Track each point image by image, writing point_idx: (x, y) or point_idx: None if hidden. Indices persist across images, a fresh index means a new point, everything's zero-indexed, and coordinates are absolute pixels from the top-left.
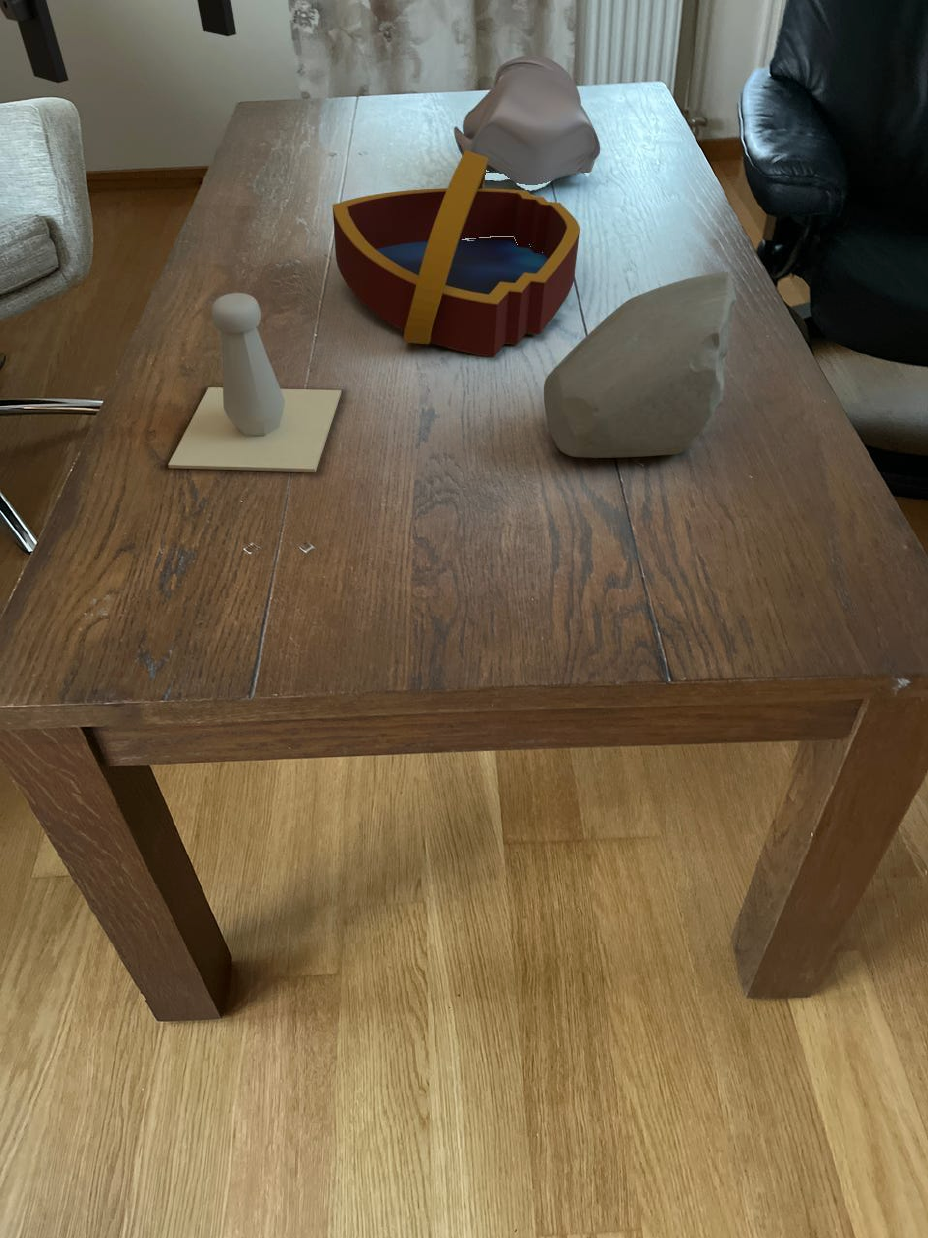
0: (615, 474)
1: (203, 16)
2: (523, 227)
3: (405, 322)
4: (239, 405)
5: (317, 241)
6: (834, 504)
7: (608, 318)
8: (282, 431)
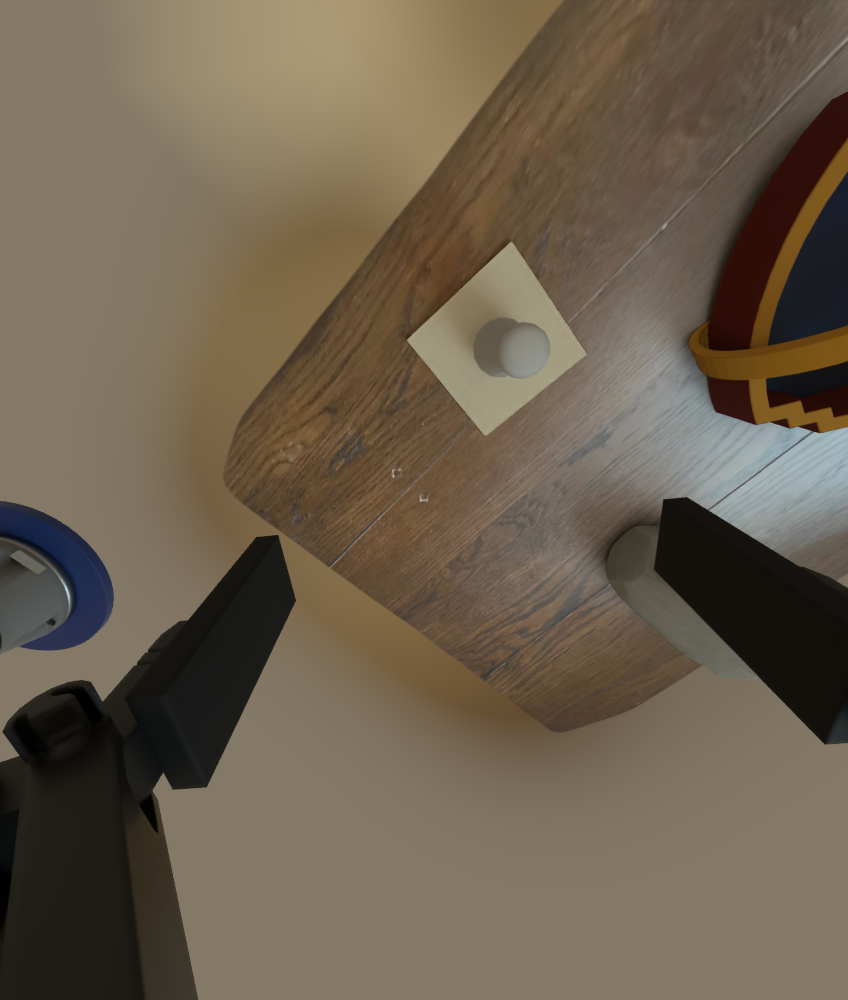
0: None
1: (678, 520)
2: None
3: (717, 319)
4: (480, 361)
5: None
6: (655, 670)
7: None
8: None
